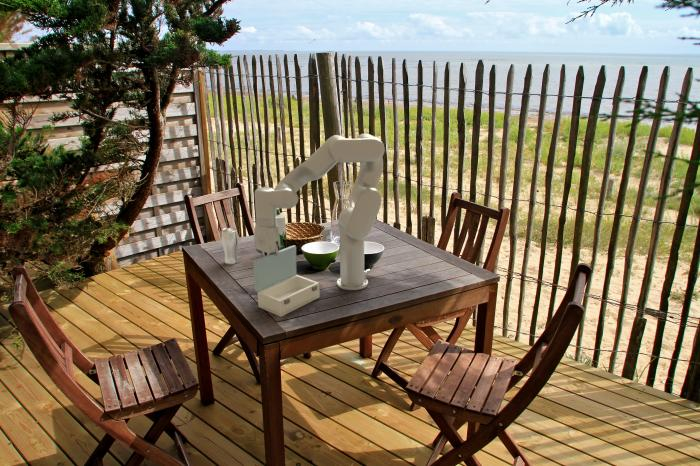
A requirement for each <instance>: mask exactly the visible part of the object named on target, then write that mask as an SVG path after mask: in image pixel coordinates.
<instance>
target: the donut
mask: <svg viewBox="0 0 700 466" xmlns="http://www.w3.org/2000/svg"><path fill="white" fill-rule="evenodd" d="M331 228H332V227H325V228H324V229H322V231H321V232H320V234H321V235H323V238H322V241H329V240H328V239H327V237H328V236H329V235H330V231H331ZM320 234H319V235H320Z"/></svg>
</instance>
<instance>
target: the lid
mask: <svg viewBox="0 0 700 466" xmlns="http://www.w3.org/2000/svg"><path fill="white" fill-rule="evenodd" d="M252 261H253V262H252V263H253V279H254V280H253V281H254V284H253V286H254V291H255V292H259V291H261V290H263V289H265V288H268V287H270V286H272V285H275V284H277V283H279V282H282V281H284V280H286V279H288V278H291V277H293V276H295V275H297V246H296V245H290V246H288V247H286V248H285V249H282V250H280V251H279V255H278V256H275V254H274V253H272V254H269V255H266V256H264V257H263V256H261V257H258V258H256V259H254V260H252Z"/></svg>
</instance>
